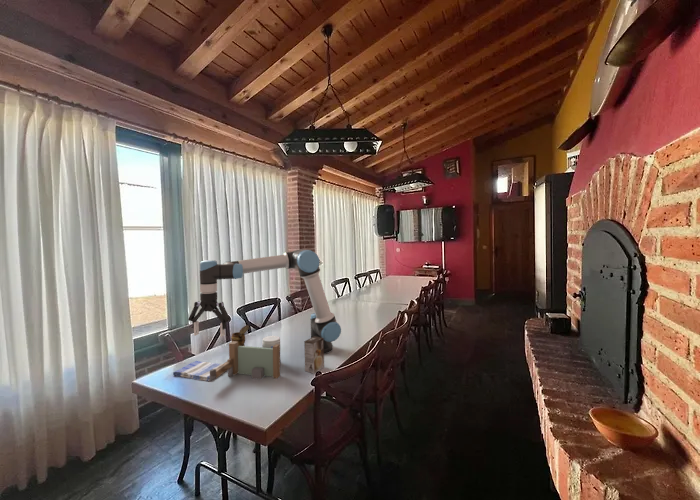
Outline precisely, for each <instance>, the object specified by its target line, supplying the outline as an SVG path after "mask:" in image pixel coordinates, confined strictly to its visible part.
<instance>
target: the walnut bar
mask: <svg viewBox="0 0 700 500" xmlns="http://www.w3.org/2000/svg"><path fill="white" fill-rule="evenodd" d="M221 364H222V365H221V366H219V367H218V368H217V369H212V370H210V381H215V380H217V378H218V377H220V376H221V375H223V374H224V373H225V372H228V369H229V368H231V367H232V366H233V359H229V358H228V359H227V361H225V362H224V363H221Z"/></svg>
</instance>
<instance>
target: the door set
mask: <svg viewBox="0 0 700 500" xmlns="http://www.w3.org/2000/svg"><path fill="white" fill-rule="evenodd" d="M231 341H232V340H231ZM228 352H229V353H228V359H233V366H232V367H231V368H229V369H228V370H227V378H232V377H233V376H235V375H237V374H239V375H249V376H251V379H254V380H256V379H257V380H262V379H263V378H264V377H270V378H271V377H272V378H273V379H275V380H276V379H278V378H280V376H281V343H280V344H275V345H274V346H273V348H263V347H262V346H261V347H259V346H258V347H257V346H247V345H245V346H238V342H236V341H232V342H229V343H228Z"/></svg>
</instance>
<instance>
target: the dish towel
mask: <svg viewBox="0 0 700 500" xmlns="http://www.w3.org/2000/svg"><path fill="white" fill-rule="evenodd" d="M222 364H223V363H217V362H209V361H206V362H205V361H199V360H195V361H193V362H190V363H188V364H186V365H184V366H182V367H181V368H179V369H177V370H175V371H173V372H172V373H173V376H178V377H182V378H187V379H188V378H189V379H192V380H198V381H205V382H209V381H211V380H210V370H212V369H217V368H218V367H219V366H221V365H222Z"/></svg>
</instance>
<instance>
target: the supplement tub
mask: <svg viewBox="0 0 700 500" xmlns="http://www.w3.org/2000/svg"><path fill="white" fill-rule="evenodd" d="M261 343H262V346H261V347H263V348H273V346H274V345H275V344H280V345H281V338H280V336H278V335H268V336H264V338H262V341H261Z"/></svg>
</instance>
